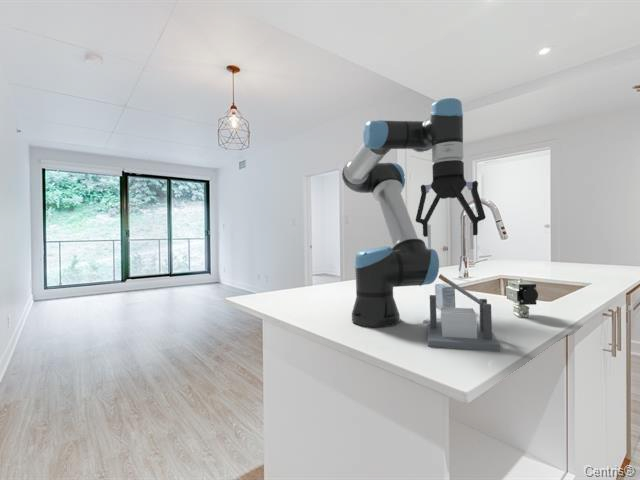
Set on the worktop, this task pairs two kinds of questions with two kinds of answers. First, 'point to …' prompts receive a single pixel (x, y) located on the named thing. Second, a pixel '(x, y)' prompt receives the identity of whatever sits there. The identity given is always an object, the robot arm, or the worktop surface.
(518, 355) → the worktop surface
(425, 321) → the external hard drive
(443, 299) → the medicine box
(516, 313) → the pneumatic valve
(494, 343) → the heatsink base
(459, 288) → the lever
